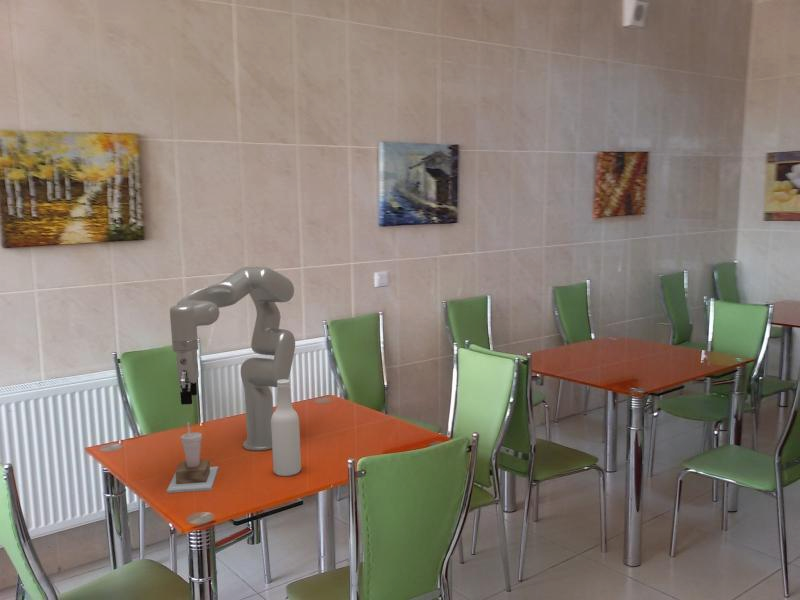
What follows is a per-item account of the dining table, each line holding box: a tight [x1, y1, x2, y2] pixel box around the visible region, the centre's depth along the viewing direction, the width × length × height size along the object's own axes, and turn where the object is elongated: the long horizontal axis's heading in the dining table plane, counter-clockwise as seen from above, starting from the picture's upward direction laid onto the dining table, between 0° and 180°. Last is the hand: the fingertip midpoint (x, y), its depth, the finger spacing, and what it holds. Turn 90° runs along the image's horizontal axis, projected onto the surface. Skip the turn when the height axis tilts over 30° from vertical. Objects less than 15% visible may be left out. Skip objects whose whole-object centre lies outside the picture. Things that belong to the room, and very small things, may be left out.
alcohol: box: [271, 379, 302, 477], centre depth 234 cm, size 9×9×30 cm
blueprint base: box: [166, 459, 219, 494], centre depth 230 cm, size 13×18×5 cm
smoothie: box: [180, 421, 203, 467], centre depth 229 cm, size 6×6×14 cm
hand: (189, 399), depth 227 cm, fingers open, 9 cm apart
